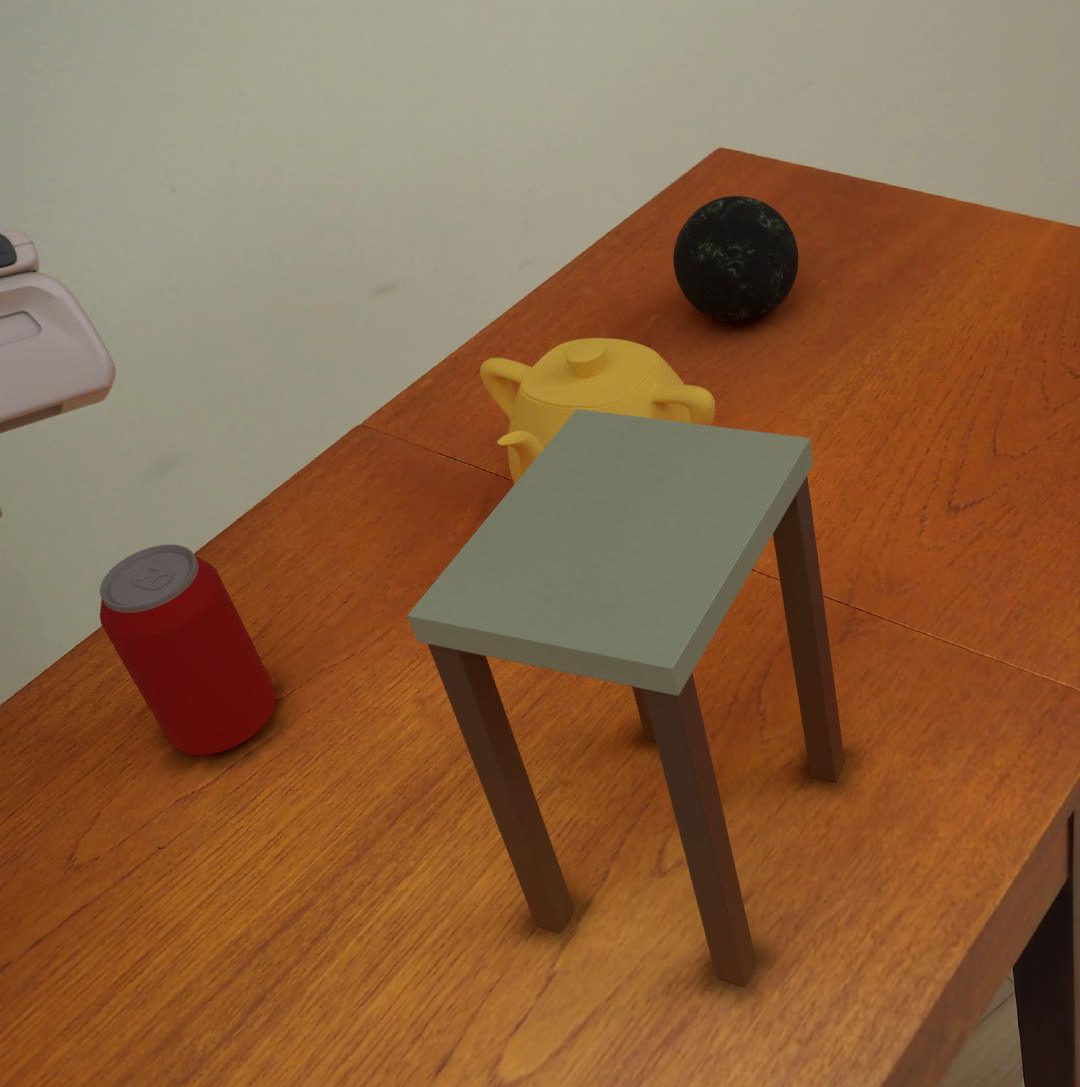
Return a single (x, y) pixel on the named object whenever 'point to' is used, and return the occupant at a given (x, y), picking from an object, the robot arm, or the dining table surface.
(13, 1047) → the dining table surface
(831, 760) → the side table
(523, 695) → the dining table surface
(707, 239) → the decorative stone
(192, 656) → the beverage can
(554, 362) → the teapot
